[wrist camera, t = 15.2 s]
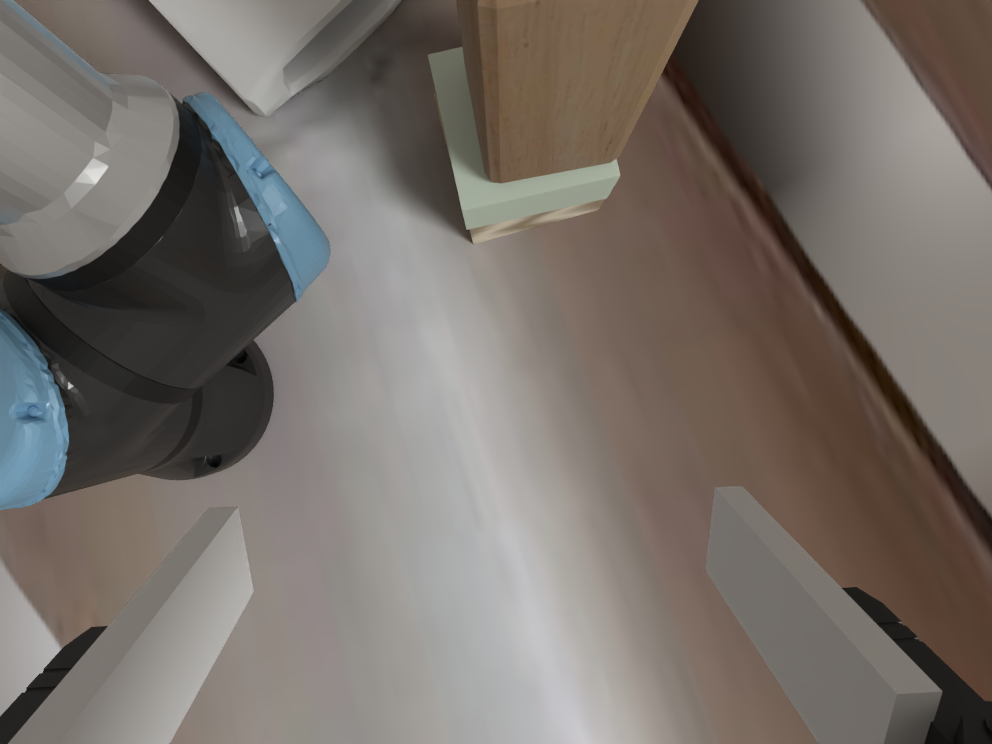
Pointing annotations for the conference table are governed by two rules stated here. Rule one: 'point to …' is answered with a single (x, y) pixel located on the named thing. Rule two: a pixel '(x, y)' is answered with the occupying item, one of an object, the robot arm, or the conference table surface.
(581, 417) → the conference table surface
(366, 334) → the conference table surface
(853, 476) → the conference table surface
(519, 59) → the block
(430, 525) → the conference table surface
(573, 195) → the tower upper slab
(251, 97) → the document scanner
